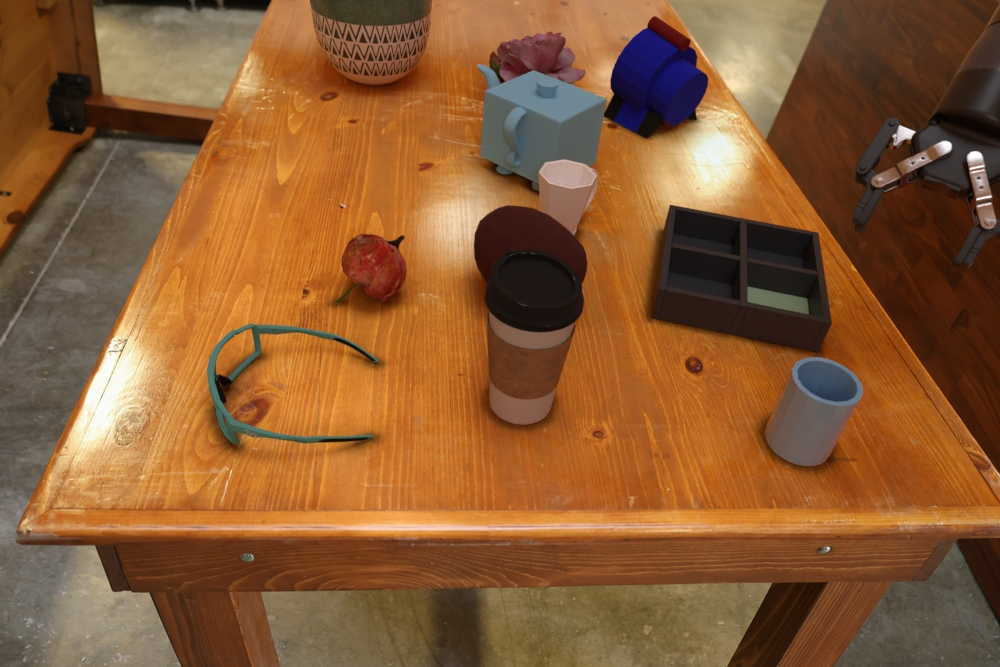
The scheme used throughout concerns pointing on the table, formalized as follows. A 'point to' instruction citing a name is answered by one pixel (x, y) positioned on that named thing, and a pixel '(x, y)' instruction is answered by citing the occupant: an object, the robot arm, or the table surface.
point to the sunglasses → (219, 380)
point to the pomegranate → (374, 265)
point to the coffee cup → (529, 331)
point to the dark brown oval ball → (525, 238)
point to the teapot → (538, 123)
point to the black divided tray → (742, 278)
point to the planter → (372, 36)
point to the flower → (535, 58)
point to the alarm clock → (655, 80)
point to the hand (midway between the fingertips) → (905, 248)
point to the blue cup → (812, 411)
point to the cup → (566, 191)
